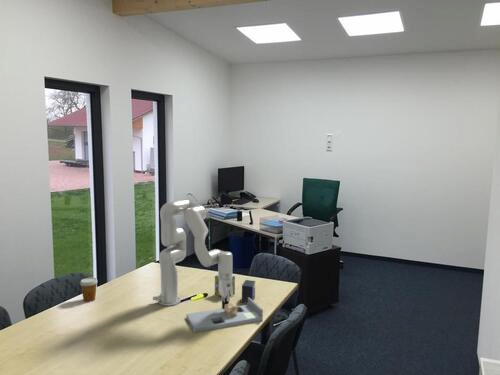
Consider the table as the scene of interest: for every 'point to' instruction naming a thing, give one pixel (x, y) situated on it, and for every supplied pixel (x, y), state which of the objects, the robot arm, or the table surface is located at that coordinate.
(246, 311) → the trap deck
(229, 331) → the table surface
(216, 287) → the chalk box
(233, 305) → the beech block
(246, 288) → the small box
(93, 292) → the disposable coffee cup
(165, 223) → the robot arm
